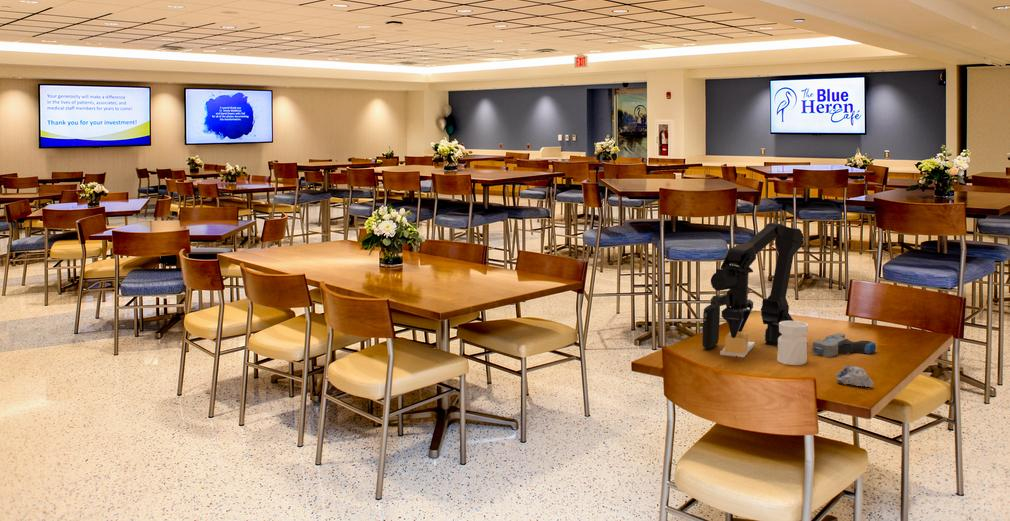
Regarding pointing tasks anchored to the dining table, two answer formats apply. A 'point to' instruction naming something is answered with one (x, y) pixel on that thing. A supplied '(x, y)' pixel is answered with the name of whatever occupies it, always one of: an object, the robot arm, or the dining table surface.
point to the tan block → (736, 343)
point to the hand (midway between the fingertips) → (736, 334)
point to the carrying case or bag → (710, 326)
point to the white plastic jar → (792, 342)
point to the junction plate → (750, 346)
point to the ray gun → (841, 346)
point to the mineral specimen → (854, 376)
